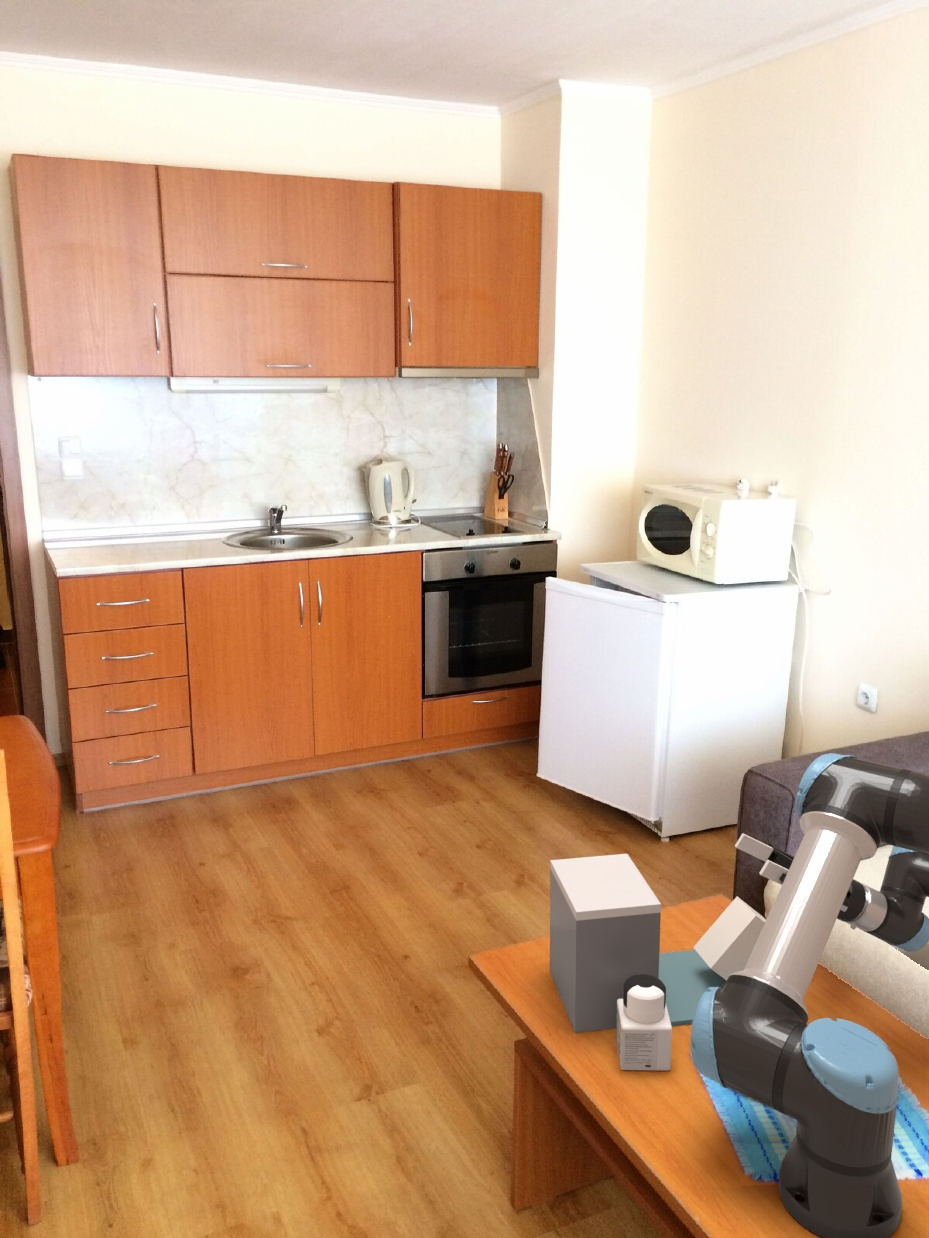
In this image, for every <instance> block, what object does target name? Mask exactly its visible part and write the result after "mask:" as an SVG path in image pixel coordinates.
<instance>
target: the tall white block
mask: <svg viewBox="0 0 929 1238" xmlns="http://www.w3.org/2000/svg"><path fill="white" fill-rule="evenodd" d="M766 920H767V918H765V917H764V916H763V915H762V914H761V913H759V912H758V911H757V910H755V909H753V907H751V906H750V905H749V904H748V903H746V902H745V901H744V900H742V899H741V898H740V897H739V896H735V898H734V899H733V900H732V901H731V903H730V904H729V905H728V906H727V907H726V908H725V909H724V910H723V912H722V913H721V914H720V916H718V918H717V919H716V920H715V921H714V923H713V924H712V925H711V926H710V927H709V928H708V930H707V931H706V932H705V933H704V934H703V936H702V937H701V938H700V939H699V940H697V941H698V942H696V943H695V944H694V946H693V950H696V951H697V953H698V954H699V955H700V956H701V957H702V959H703V960H704V961H705V962H706V964H707V965H708V966H709V967H710V968H711V969H712V970H713V971H715V972H716V973H717V974H718V975H720V976H721V977H722V978H724V979H725V980H726V981H727V979H728V977H729V975H730V974H732V973H735V972H739V971H743V970H744V969H745V967H746V965H747V962H748V960H749V958H750V956H751V953H752V951H753V949H754V947H755V944H756V942H757V940H758V938H759V936H760V933H761V931H762V929H763V927H764V924H765V922H766Z"/></svg>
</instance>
